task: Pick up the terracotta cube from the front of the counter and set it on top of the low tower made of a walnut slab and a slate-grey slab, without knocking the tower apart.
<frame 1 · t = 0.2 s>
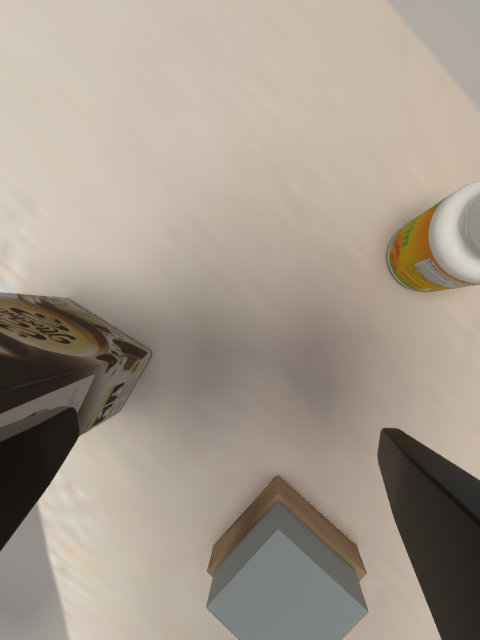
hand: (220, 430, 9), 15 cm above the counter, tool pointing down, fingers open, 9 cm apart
walnut base slab: (283, 541, 25), on the counter, touching slate top slab
supplement bottle: (421, 257, 23), on the counter
slate top slab: (283, 569, 22), point 3 cm above the counter, touching walnut base slab
coffee box: (93, 353, 26), on the counter
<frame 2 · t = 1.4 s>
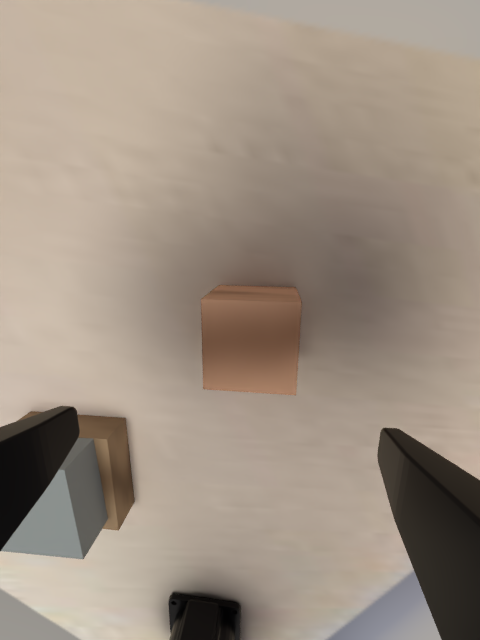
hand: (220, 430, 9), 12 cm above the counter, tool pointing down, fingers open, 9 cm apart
walnut base slab: (86, 454, 25), on the counter, touching slate top slab
terracotta cube: (255, 322, 20), on the counter
slate top slab: (56, 477, 22), point 3 cm above the counter, touching walnut base slab
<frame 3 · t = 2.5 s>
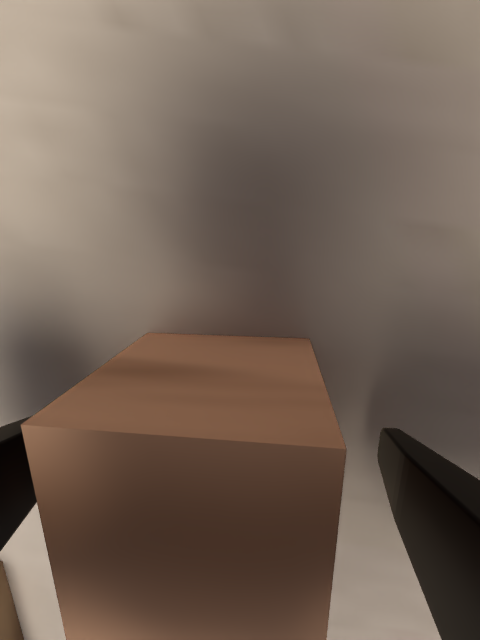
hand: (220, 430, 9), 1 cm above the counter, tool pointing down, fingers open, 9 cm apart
terracotta cube: (227, 407, 10), on the counter
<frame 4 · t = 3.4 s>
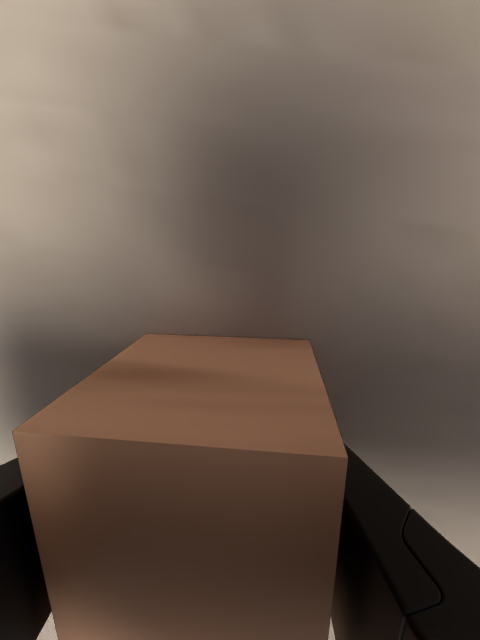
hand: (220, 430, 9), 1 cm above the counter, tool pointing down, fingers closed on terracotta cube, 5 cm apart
terracotta cube: (226, 410, 10), on the counter, touching gripper
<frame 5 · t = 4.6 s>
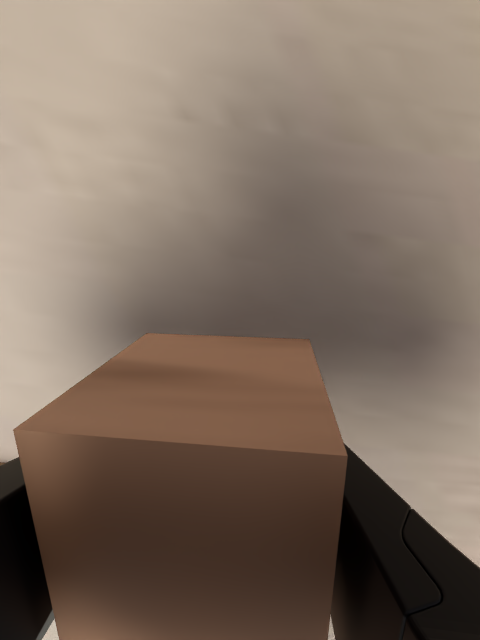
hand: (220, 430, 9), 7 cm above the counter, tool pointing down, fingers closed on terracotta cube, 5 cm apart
terracotta cube: (226, 409, 10), point 6 cm above the counter, touching gripper
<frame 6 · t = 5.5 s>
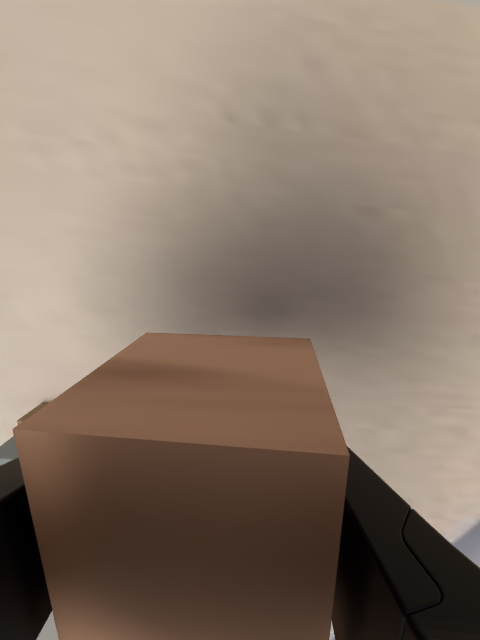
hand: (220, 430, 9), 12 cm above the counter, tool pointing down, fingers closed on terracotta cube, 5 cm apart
terracotta cube: (226, 409, 10), point 11 cm above the counter, touching gripper
slate top slab: (77, 472, 22), point 2 cm above the counter, touching walnut base slab
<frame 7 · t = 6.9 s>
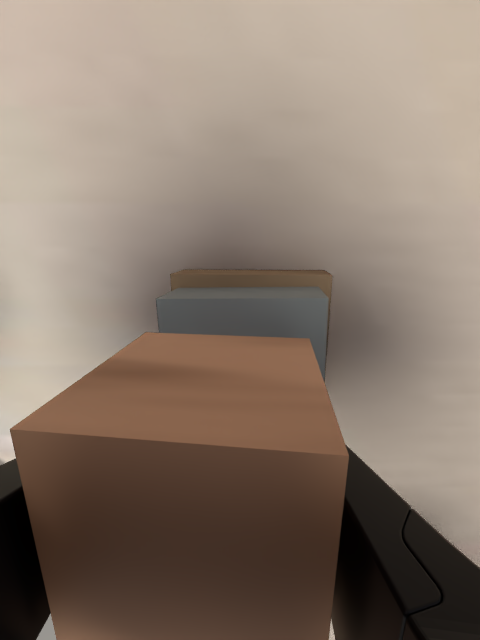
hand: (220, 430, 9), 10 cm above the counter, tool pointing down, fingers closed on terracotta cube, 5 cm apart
walnut base slab: (252, 334, 19), on the counter, touching slate top slab
terracotta cube: (226, 409, 10), point 9 cm above the counter, touching gripper
slate top slab: (247, 353, 16), point 2 cm above the counter, touching walnut base slab
when the fingers open (8 cm above the counter, at t = 8.3 s): terracotta cube drops 2 cm, point 5 cm above the counter.
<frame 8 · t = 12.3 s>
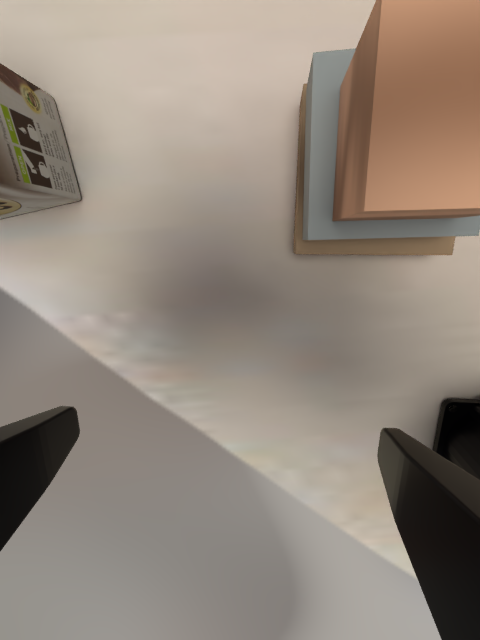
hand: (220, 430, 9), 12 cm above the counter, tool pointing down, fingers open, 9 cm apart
walnut base slab: (364, 183, 18), on the counter, touching slate top slab
terracotta cube: (399, 154, 12), point 5 cm above the counter
slate top slab: (375, 165, 15), point 2 cm above the counter, touching walnut base slab
coffee box: (9, 165, 20), on the counter
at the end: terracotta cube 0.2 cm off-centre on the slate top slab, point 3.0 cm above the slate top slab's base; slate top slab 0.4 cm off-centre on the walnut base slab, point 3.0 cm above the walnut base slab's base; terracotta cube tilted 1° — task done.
